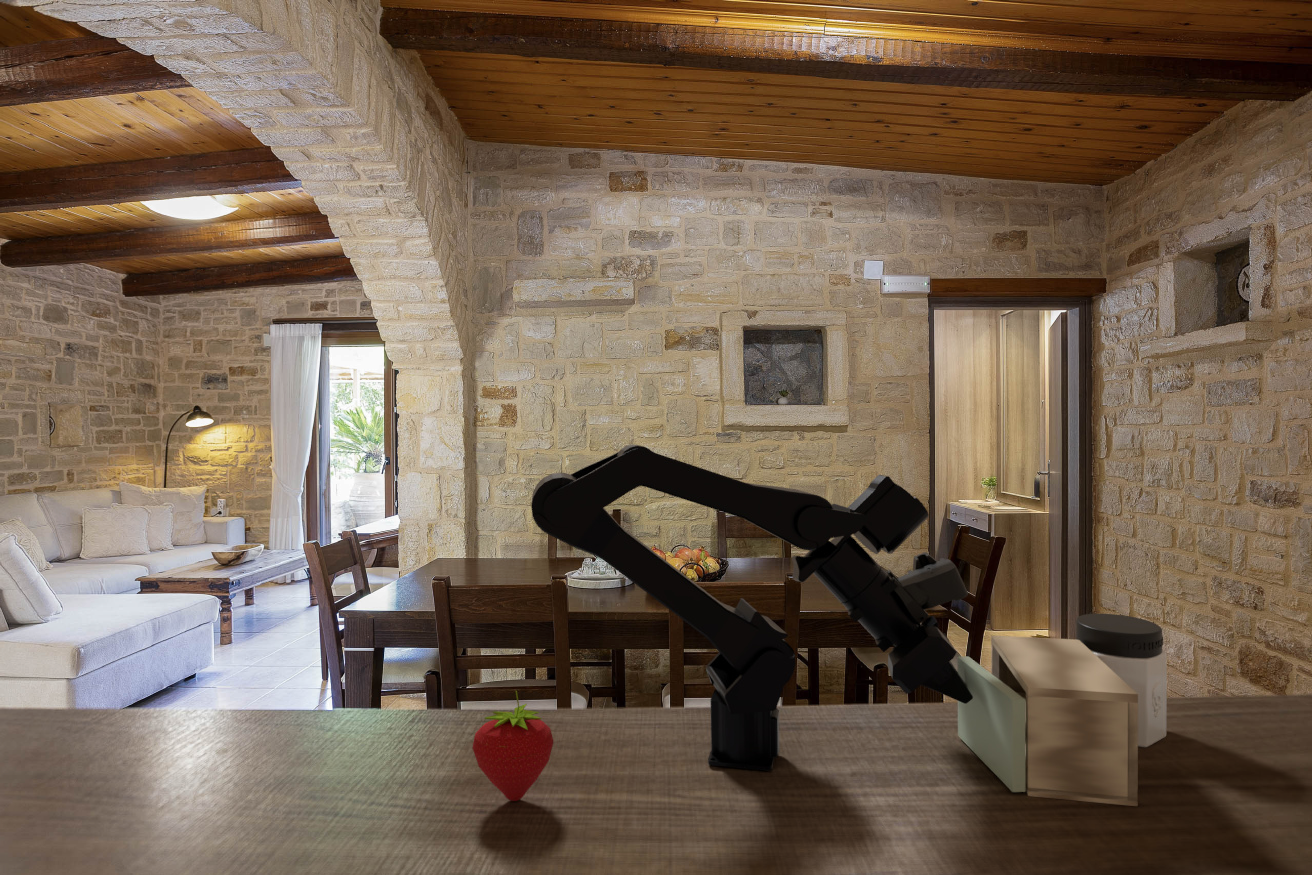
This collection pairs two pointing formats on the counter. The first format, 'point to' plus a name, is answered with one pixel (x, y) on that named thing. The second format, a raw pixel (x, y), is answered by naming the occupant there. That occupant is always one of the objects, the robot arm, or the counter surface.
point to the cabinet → (1072, 720)
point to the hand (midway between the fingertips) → (966, 695)
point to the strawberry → (513, 750)
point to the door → (993, 723)
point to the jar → (1132, 664)
